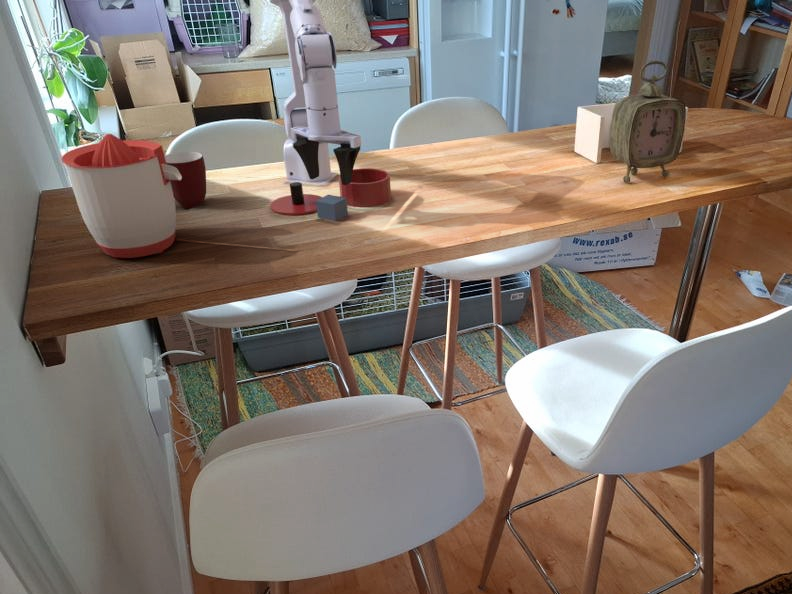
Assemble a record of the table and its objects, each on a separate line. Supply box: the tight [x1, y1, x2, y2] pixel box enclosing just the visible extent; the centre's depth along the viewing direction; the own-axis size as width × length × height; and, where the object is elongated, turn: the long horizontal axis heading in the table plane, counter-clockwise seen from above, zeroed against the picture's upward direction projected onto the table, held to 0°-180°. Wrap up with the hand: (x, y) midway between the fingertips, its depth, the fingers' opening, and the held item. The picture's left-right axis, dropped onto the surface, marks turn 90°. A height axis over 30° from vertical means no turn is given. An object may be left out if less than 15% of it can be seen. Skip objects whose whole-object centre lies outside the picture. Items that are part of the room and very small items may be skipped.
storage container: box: [573, 102, 689, 164], centre depth 174 cm, size 25×11×11 cm, turn 113°
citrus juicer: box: [61, 133, 182, 259], centre depth 119 cm, size 16×17×20 cm
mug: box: [164, 151, 207, 210], centre depth 139 cm, size 11×8×10 cm
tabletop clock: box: [609, 60, 686, 184], centre depth 153 cm, size 14×9×25 cm, turn 114°
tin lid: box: [269, 182, 323, 216], centre depth 140 cm, size 11×11×5 cm
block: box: [316, 194, 349, 222], centre depth 135 cm, size 4×4×4 cm
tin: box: [338, 167, 392, 208], centre depth 143 cm, size 10×10×5 cm
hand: (330, 180), depth 132 cm, fingers open, 7 cm apart
